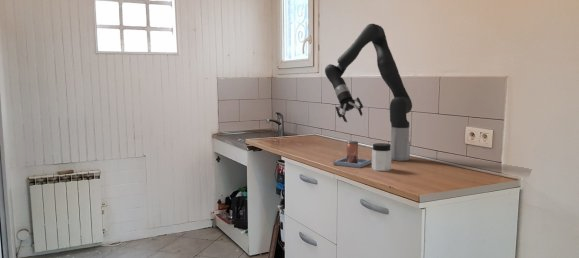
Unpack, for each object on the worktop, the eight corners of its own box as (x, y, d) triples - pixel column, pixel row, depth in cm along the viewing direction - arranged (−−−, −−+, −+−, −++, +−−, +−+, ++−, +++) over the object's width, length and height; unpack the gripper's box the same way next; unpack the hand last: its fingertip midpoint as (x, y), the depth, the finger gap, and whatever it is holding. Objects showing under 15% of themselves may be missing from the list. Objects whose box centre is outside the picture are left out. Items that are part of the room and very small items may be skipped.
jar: (370, 170, 206) (371, 145, 204) (372, 167, 214) (373, 142, 212) (390, 171, 203) (390, 146, 202) (391, 168, 211) (392, 143, 210)
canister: (359, 163, 223) (360, 141, 221) (355, 165, 218) (355, 142, 216) (349, 162, 226) (349, 140, 224) (344, 163, 221) (344, 142, 219)
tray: (370, 163, 224) (370, 159, 224) (359, 167, 212) (359, 164, 212) (345, 160, 231) (345, 157, 231) (333, 165, 219) (333, 161, 219)
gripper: (330, 96, 243) (340, 121, 235) (354, 86, 241) (365, 110, 233) (333, 102, 249) (343, 126, 242) (356, 92, 247) (367, 116, 239)
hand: (353, 118), depth 237 cm, fingers open, 8 cm apart
